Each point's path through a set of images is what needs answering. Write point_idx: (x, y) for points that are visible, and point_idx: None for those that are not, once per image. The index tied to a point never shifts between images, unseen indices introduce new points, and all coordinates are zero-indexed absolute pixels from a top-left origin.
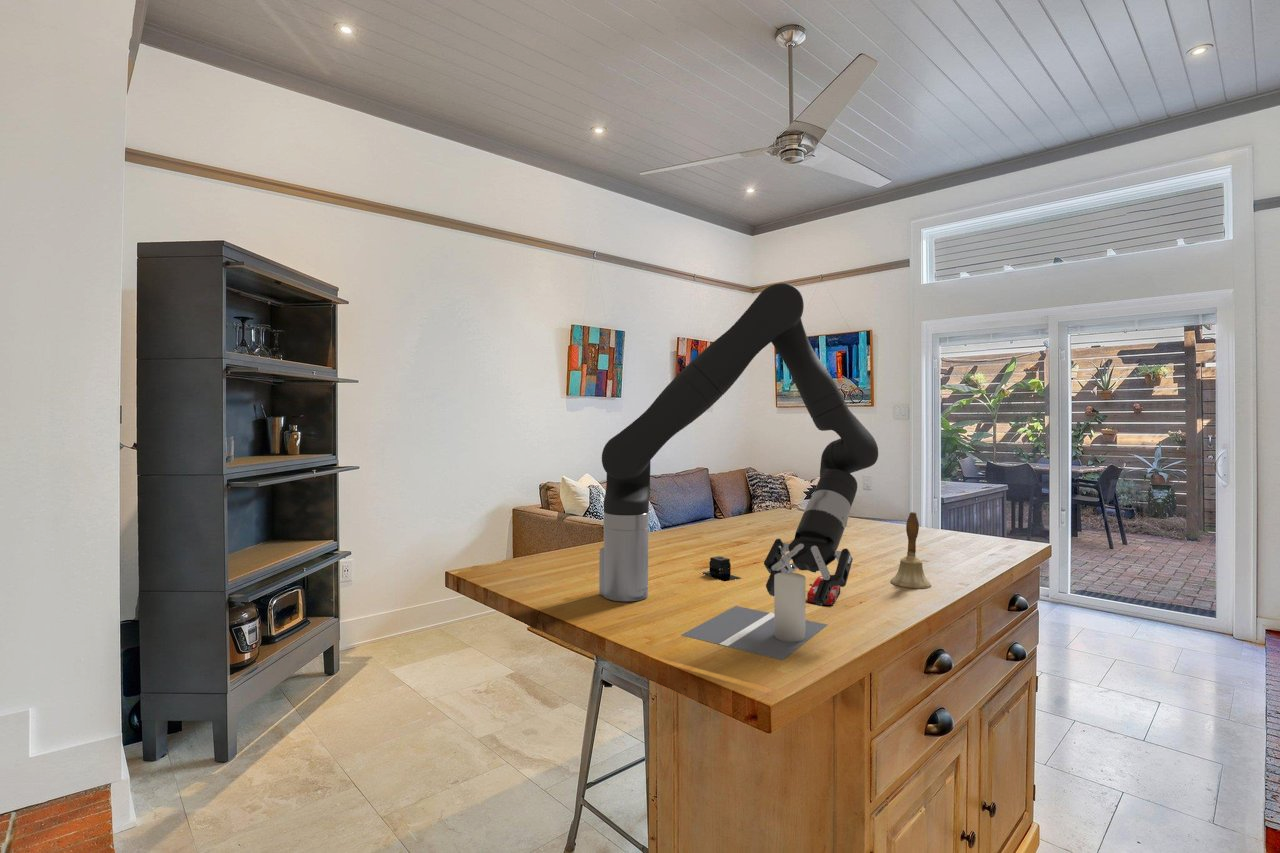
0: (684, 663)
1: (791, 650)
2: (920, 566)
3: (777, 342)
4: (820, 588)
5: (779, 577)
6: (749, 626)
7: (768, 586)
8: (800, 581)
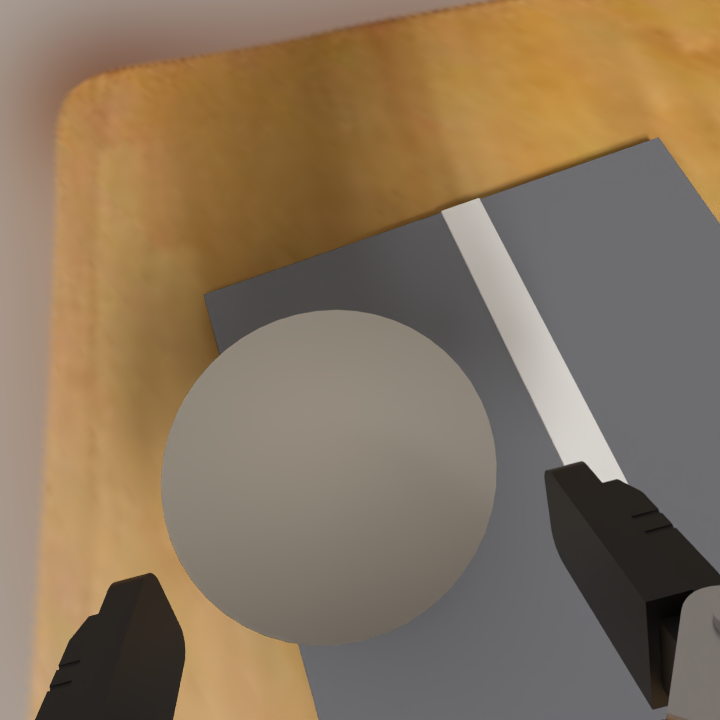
0: (422, 45)
1: None
2: None
3: None
4: (90, 664)
5: (367, 348)
6: (608, 462)
7: (584, 470)
8: (170, 446)
